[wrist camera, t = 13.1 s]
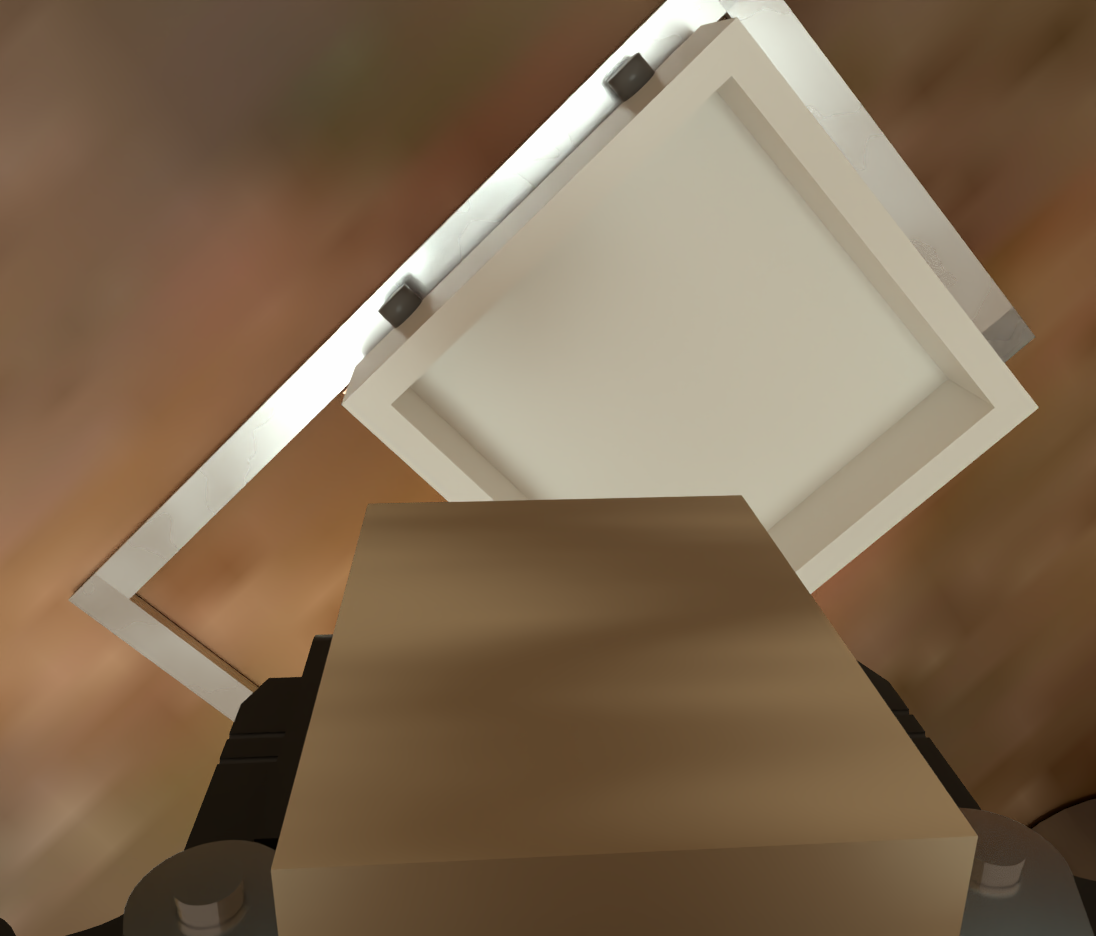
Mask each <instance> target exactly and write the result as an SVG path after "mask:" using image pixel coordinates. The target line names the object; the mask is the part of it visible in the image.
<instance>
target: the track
mask: <svg viewBox="0 0 1096 936" xmlns="http://www.w3.org/2000/svg"><path fill="white" fill-rule="evenodd" d="M723 15H725V16H726V17H727V19H731V18H735V17H737V18H738V19H739V20H740V22H741V23H742V24H743V25H744V27H745V28H746V29H747V31H748V32H749V33H750V34H751V36H752V37H753V38H754V40H755V41H756V42H757V44H758V45H759V46H760V47H761V49H762V50H763V51H764V53H765V54H766V55H767V56H768V58H769V59H770V60H771V62H772V63H773V64H774V66H775V67H776V68H777V69H778V71H779V72H780V73H781V75H782V76H783V77H784V78H785V80H786V81H787V82H788V84H789V85H790V86H791V88H792V89H793V90H794V91H795V93H796V94H797V95H798V97H799V98H800V99H801V100H802V102H803V103H804V104H805V106H806V107H807V108H808V110H809V111H810V112H811V113H812V115H813V116H814V117H815V119H816V120H817V121H818V122H819V124H820V125H821V126H822V128H823V129H824V130H825V132H826V133H827V134H828V135H829V137H830V138H831V139H832V141H833V142H834V143H835V144H836V146H837V147H838V148H839V150H840V151H841V152H842V154H843V155H844V156H845V157H846V159H847V160H848V161H849V163H850V164H851V165H852V166H853V168H854V169H855V170H856V172H857V173H858V174H859V176H860V177H861V178H862V179H863V181H864V182H865V183H866V185H867V186H868V187H869V188H870V190H871V191H872V192H873V194H874V195H875V196H876V198H877V199H878V200H879V201H880V203H881V204H882V205H883V207H884V208H885V209H886V211H887V212H888V213H889V214H890V216H891V217H892V218H893V220H894V221H895V222H896V223H897V225H898V226H899V227H900V229H901V230H902V231H903V233H904V234H905V235H906V236H907V238H908V239H909V240H910V242H911V243H912V244H913V245H914V247H915V248H916V249H917V251H918V252H919V253H920V255H921V256H922V257H923V258H924V260H925V261H926V262H927V264H928V265H929V266H930V267H931V269H932V270H933V271H934V273H935V274H936V275H937V277H938V278H939V279H940V280H941V282H942V283H943V284H944V286H945V287H946V288H947V289H948V291H949V292H950V293H951V295H952V296H953V297H954V299H955V300H956V301H957V302H958V304H959V305H960V306H961V308H962V309H963V310H964V311H965V313H966V314H967V315H968V317H969V318H970V319H971V321H972V322H973V323H974V324H975V326H976V327H977V328H978V330H979V331H980V332H981V333H982V335H983V336H984V337H985V339H986V340H987V341H988V343H989V344H990V345H991V346H992V348H993V349H994V350H995V352H996V353H997V354H998V355H999V357H1000V358H1001V359H1002V361H1003V362H1004V363H1005V362H1006V361H1007V360H1008V359H1010V358H1011V357H1012V356H1013V355H1014V354H1016V353H1017V352H1018V351H1019V350H1020V349H1022V348H1023V347H1024V346H1025V345H1026V344H1028V343H1029V342H1030V341H1031V340H1032V339H1034V338H1035V336H1034V334H1033V333H1032V332H1031V330H1030V329H1029V328H1028V326H1027V325H1026V324H1025V322H1024V321H1023V320H1022V318H1021V317H1020V316H1019V314H1018V313H1017V312H1016V310H1015V309H1014V308H1013V306H1012V305H1011V304H1010V302H1009V301H1008V300H1007V298H1006V297H1005V296H1004V294H1003V293H1002V292H1001V290H1000V289H999V288H998V286H997V285H996V283H995V282H994V281H993V279H992V278H991V277H990V275H989V274H988V273H987V271H986V270H985V269H984V267H983V266H982V265H981V263H980V262H979V261H978V259H977V258H976V257H975V255H974V254H973V253H972V251H971V250H970V249H969V247H968V246H967V245H966V243H965V242H964V241H963V239H962V238H961V237H960V235H959V234H958V233H957V231H956V230H955V229H954V227H953V226H952V225H951V223H950V222H949V221H948V219H947V218H946V217H945V215H944V214H943V213H942V211H941V210H940V209H939V207H938V206H937V205H936V203H935V202H934V201H933V199H932V198H931V197H930V195H929V194H928V193H927V191H926V190H925V189H924V187H923V186H922V185H921V183H920V182H919V181H918V179H917V178H916V177H915V175H914V174H913V173H912V171H911V170H910V169H909V167H908V166H907V165H906V163H905V162H904V161H903V159H902V158H901V157H900V155H899V154H898V153H897V151H896V150H895V149H894V147H893V146H892V145H891V143H890V142H889V141H888V139H887V138H886V137H885V135H884V134H883V133H882V131H881V130H880V129H879V127H878V126H877V125H876V123H875V122H874V121H873V119H872V118H871V117H870V115H869V114H868V113H867V111H866V110H865V109H864V107H863V106H862V105H861V103H860V102H859V101H858V99H857V98H856V97H855V95H854V94H853V93H852V91H851V90H850V89H849V87H848V86H847V84H846V83H845V82H844V80H843V79H842V78H841V76H840V75H839V74H838V72H837V71H836V70H835V68H834V67H833V66H832V64H831V63H830V62H829V60H828V59H827V58H826V56H825V55H824V54H823V52H822V51H821V50H820V48H819V47H818V46H817V44H816V43H815V42H814V40H813V39H812V38H811V36H810V35H809V34H808V32H807V31H806V30H805V28H804V27H803V26H802V24H801V23H800V22H799V20H798V19H797V18H796V16H795V15H794V14H793V12H792V11H791V10H790V8H789V7H788V6H787V4H786V3H785V2H784V0H665V1H664V2H663V3H662V4H661V5H660V6H659V7H658V8H657V9H656V10H655V11H654V12H653V13H652V14H651V15H650V16H649V17H648V18H647V19H646V20H645V21H644V22H643V23H642V24H641V25H640V26H639V27H638V28H637V29H636V30H635V31H634V32H633V33H632V34H631V35H630V36H629V37H628V38H627V39H626V40H625V41H624V42H623V43H622V44H621V45H620V46H619V47H618V48H617V49H616V50H615V51H614V52H613V53H612V54H611V55H610V56H609V57H608V58H607V59H606V60H605V61H604V62H603V63H602V64H601V65H600V66H599V67H598V68H597V69H596V70H595V71H594V72H593V73H592V74H591V75H590V76H589V77H588V78H587V79H586V80H585V81H584V82H583V83H582V84H581V85H580V86H579V87H578V88H577V89H576V90H575V91H574V92H573V93H572V94H571V95H570V96H569V97H568V98H567V99H566V100H565V101H564V102H563V103H562V104H561V105H560V106H559V107H558V108H557V109H556V110H555V111H554V112H553V113H552V114H551V115H550V116H549V117H548V118H547V119H546V120H545V121H544V122H543V123H542V124H541V125H540V126H539V127H538V128H537V129H536V130H535V131H534V132H533V133H532V134H531V135H530V136H529V137H528V138H527V139H526V140H525V141H524V142H523V143H522V144H521V145H520V146H519V147H518V148H517V149H516V150H515V151H514V152H513V153H512V154H511V155H510V156H509V157H508V158H507V159H506V160H505V161H504V162H503V163H502V164H501V165H500V166H499V167H498V168H497V169H496V170H495V171H494V172H493V173H492V174H491V175H490V176H489V177H488V178H487V179H486V180H485V181H484V182H483V183H482V185H481V186H480V187H479V188H478V189H477V190H476V191H475V192H474V193H473V194H472V195H471V196H470V197H469V198H468V199H467V200H466V201H465V202H464V203H463V204H462V205H461V206H460V207H459V208H458V209H457V210H456V211H455V212H454V213H453V214H452V215H451V216H450V217H449V218H448V219H447V220H446V221H445V222H444V223H443V224H442V225H441V226H440V227H439V228H438V229H437V230H436V231H435V232H434V233H433V234H432V235H431V236H430V237H429V238H428V239H427V240H426V241H425V242H424V243H423V244H422V245H421V246H420V247H419V248H418V249H417V250H416V251H415V252H414V253H413V254H412V255H411V256H410V257H409V258H408V259H407V260H406V261H405V262H404V263H403V264H402V265H401V266H400V267H399V268H398V269H397V270H396V271H395V272H394V273H393V274H392V275H391V276H390V277H389V278H388V279H387V280H386V281H385V282H384V283H383V284H382V285H381V286H380V287H379V288H378V289H377V290H376V291H375V292H374V293H373V294H372V295H371V296H370V297H369V298H368V299H367V300H366V301H365V302H364V303H363V304H362V305H361V306H360V307H359V308H358V309H357V310H356V311H355V312H354V313H353V314H352V315H351V316H350V317H349V318H348V319H347V320H346V321H345V322H344V323H343V324H342V325H341V326H340V327H339V328H338V329H337V330H336V331H335V332H334V333H333V334H332V335H331V336H330V337H329V338H328V339H327V340H326V341H325V342H324V343H323V344H322V345H321V346H320V347H319V348H318V349H317V350H316V351H315V352H314V353H313V354H312V355H311V356H310V357H309V358H308V359H307V360H306V361H305V362H304V363H303V364H302V365H301V366H300V367H299V368H298V369H297V370H296V371H295V372H294V373H293V374H292V375H291V376H290V377H289V378H288V379H287V380H286V381H285V382H284V383H283V384H282V385H281V386H280V387H279V388H278V389H277V390H276V391H275V392H274V393H273V394H272V395H271V396H270V397H269V398H268V399H267V400H266V401H265V402H264V403H263V404H262V405H261V406H260V407H259V408H258V409H257V410H256V411H255V412H254V413H253V414H252V415H251V416H250V417H249V418H248V419H247V420H246V421H245V422H244V423H243V424H242V425H241V426H240V427H239V428H238V429H237V430H236V431H235V432H234V433H233V434H232V435H231V436H230V437H229V438H228V439H227V440H226V441H225V442H224V443H223V444H222V445H221V446H220V447H219V448H218V449H217V450H216V451H215V452H214V453H213V454H212V455H211V456H210V457H209V458H208V459H207V460H206V461H205V462H204V463H203V464H202V465H201V466H200V467H199V468H198V469H197V470H196V471H195V472H194V473H193V474H192V475H191V476H190V477H189V478H188V479H187V480H186V481H185V482H184V483H183V484H182V485H181V486H180V487H179V488H178V489H177V490H176V491H175V492H174V493H173V494H172V495H171V496H170V497H169V498H168V499H167V500H166V501H165V502H164V503H163V504H162V505H161V506H160V507H159V508H158V509H157V510H156V511H155V512H154V513H153V514H152V515H151V516H150V517H149V518H148V519H147V520H146V521H145V522H144V523H143V524H142V525H141V526H140V527H139V528H138V529H137V530H136V531H135V532H134V533H133V534H132V535H131V536H130V537H129V538H128V539H127V540H126V541H125V542H124V543H123V544H122V545H121V546H120V547H119V548H118V549H117V550H116V551H115V552H114V553H113V554H112V555H111V556H110V557H109V558H108V559H107V560H106V561H105V562H104V563H103V564H102V565H101V566H100V567H99V568H98V569H97V570H96V571H95V572H94V573H93V574H92V575H91V576H90V577H89V578H88V579H87V580H86V581H85V582H84V583H83V584H82V585H81V586H80V587H79V588H78V589H77V590H76V591H75V592H74V593H73V595H72V596H71V597H70V599H69V601H70V602H72V603H73V604H74V605H76V606H77V607H78V608H80V609H81V610H82V611H84V612H85V613H87V614H88V615H89V616H91V617H92V618H93V619H95V620H96V621H97V622H99V623H100V624H102V625H103V626H104V627H106V628H107V629H108V630H110V631H111V632H112V633H114V634H115V635H117V636H118V637H119V638H121V639H122V640H123V641H125V642H126V643H127V644H129V645H130V646H131V647H133V648H134V649H136V650H137V651H138V652H140V653H141V654H142V655H144V656H145V657H146V658H148V659H149V660H151V661H152V662H153V663H155V664H156V665H157V666H159V667H160V668H161V669H163V670H164V671H166V672H167V673H168V674H170V675H171V676H172V677H174V678H175V679H176V680H178V681H179V682H180V683H182V684H183V685H185V686H186V687H187V688H189V689H190V690H191V691H193V692H194V693H195V694H197V695H198V696H200V697H201V698H202V699H204V700H205V701H206V702H208V703H209V704H210V705H212V706H213V707H215V708H216V709H217V710H219V711H220V712H221V713H223V714H224V715H225V716H227V717H228V718H229V719H231V720H232V721H234V720H235V718H236V715H237V713H238V710H239V708H240V705H241V703H243V702H244V701H245V700H246V699H247V698H248V697H249V696H250V695H251V694H252V693H253V692H254V691H256V690H257V689H258V688H259V687H257V686H256V685H255V684H253V683H252V682H251V681H249V680H248V679H247V678H245V677H244V676H243V675H241V674H240V673H239V672H237V671H236V670H235V669H233V668H232V667H231V666H229V665H228V664H227V663H226V662H224V661H223V660H222V659H220V658H219V657H218V656H216V655H215V654H214V653H212V652H211V651H210V650H208V649H207V648H206V647H204V646H203V645H202V644H200V643H199V642H198V641H196V640H195V639H194V638H192V637H191V636H190V635H189V634H187V633H186V632H185V631H183V630H182V629H181V628H179V627H178V626H177V625H175V624H174V623H173V622H171V621H170V620H169V619H167V618H166V617H165V616H163V615H162V614H161V613H159V612H158V611H157V610H155V609H154V608H153V607H152V606H150V605H149V604H148V603H146V602H145V601H144V600H142V599H141V598H140V597H138V596H137V595H136V594H135V593H136V592H137V591H138V590H139V589H140V588H141V587H142V586H143V585H144V584H145V583H146V582H147V581H148V580H149V579H150V578H151V577H152V576H153V575H154V574H155V573H156V572H157V571H158V570H159V569H160V568H161V567H162V566H163V565H165V564H166V563H167V562H168V561H169V560H170V559H171V558H172V557H173V556H174V555H175V554H176V553H177V552H178V551H179V550H180V549H181V548H182V547H183V546H184V545H185V544H186V543H187V542H188V541H189V540H190V539H191V538H192V537H193V536H194V535H195V534H196V533H197V532H198V531H199V530H200V529H201V528H202V527H203V526H204V525H205V524H206V523H207V522H208V521H209V520H210V519H211V518H212V517H213V516H214V515H215V514H216V513H217V512H218V511H219V510H220V509H221V508H222V507H223V506H225V505H226V504H227V503H228V502H229V501H230V500H231V499H232V498H233V497H234V496H235V495H236V494H237V493H238V492H239V491H240V490H241V489H242V488H243V487H244V486H245V485H246V484H247V483H248V482H249V481H250V480H251V479H252V478H253V477H254V476H255V475H256V474H257V473H258V472H259V471H260V470H261V469H262V468H263V467H264V466H265V465H266V464H267V463H268V462H269V461H270V460H271V459H272V458H273V457H274V456H275V455H276V454H277V453H278V452H279V451H280V450H281V449H282V448H283V447H285V446H286V445H287V444H288V443H289V442H290V441H291V440H292V439H293V438H294V437H295V436H296V435H297V434H298V433H299V432H300V431H301V430H302V429H303V428H304V427H305V426H306V425H307V424H308V423H309V422H310V421H311V420H312V419H313V418H314V417H315V416H316V415H317V414H318V413H319V412H320V411H321V410H322V409H323V408H324V407H325V406H326V405H327V404H328V403H329V402H330V401H331V400H332V399H333V398H334V397H335V396H336V395H337V394H338V393H339V392H340V391H341V390H342V389H344V388H345V387H346V386H347V385H348V384H349V382H350V379H351V377H352V374H353V371H354V368H355V366H356V365H357V364H358V363H359V362H360V361H361V360H362V359H363V358H364V357H365V356H366V355H367V354H368V353H369V352H370V351H371V350H372V349H373V348H374V347H375V346H376V345H377V344H378V343H379V342H380V341H381V340H382V339H383V338H384V337H385V336H386V335H388V334H389V333H390V332H391V331H392V330H393V329H394V327H393V326H392V325H391V324H390V323H389V322H388V321H387V320H386V319H385V318H384V317H383V316H382V315H381V314H380V313H379V312H378V310H379V308H380V307H381V306H382V305H383V303H384V302H385V301H386V300H387V299H388V298H389V297H390V296H391V295H392V294H393V293H394V292H395V291H396V290H397V289H398V288H399V287H400V286H402V285H403V284H406V285H407V286H408V287H409V288H410V289H411V290H412V291H413V292H414V293H415V294H416V295H417V296H418V297H419V298H420V299H421V300H423V299H424V298H425V297H426V296H427V295H428V294H429V293H430V292H431V291H432V290H433V289H434V288H435V287H436V286H437V285H438V284H439V283H440V282H441V281H442V280H443V279H444V278H445V277H446V276H447V275H448V274H449V273H450V272H451V271H452V270H453V269H454V268H455V267H456V266H457V265H458V264H459V263H461V262H462V261H463V260H464V259H465V258H466V257H467V256H468V255H469V254H470V253H471V252H472V251H473V250H474V249H475V248H476V247H477V246H478V245H479V244H480V243H481V242H482V241H483V240H484V239H485V238H486V237H487V236H488V235H489V234H490V233H491V232H492V231H493V230H494V229H495V228H496V227H497V226H498V225H499V224H500V223H501V222H502V221H503V220H504V219H505V218H506V217H507V216H508V215H509V214H510V213H511V212H512V211H513V210H514V209H515V208H516V207H517V206H518V205H519V204H520V203H521V202H522V201H523V200H524V199H525V198H526V197H527V196H528V195H529V194H530V193H531V192H533V191H534V190H535V189H536V188H537V187H538V186H539V185H540V184H541V183H542V182H543V181H544V180H545V179H546V178H547V177H548V176H549V175H550V174H551V173H552V172H553V171H554V170H555V169H556V168H557V167H558V166H559V165H560V164H561V163H562V162H563V161H564V160H565V159H566V158H567V157H568V156H569V155H570V154H571V153H572V152H573V151H574V150H575V149H576V148H577V147H578V146H579V145H580V144H581V143H582V142H583V141H584V140H585V139H586V138H587V137H588V136H589V135H590V134H591V133H592V132H593V131H594V130H595V129H596V128H597V127H598V126H599V125H600V124H601V123H602V122H603V121H604V120H606V119H607V118H608V117H609V116H610V115H611V114H612V113H613V112H614V111H615V110H616V109H617V108H618V107H619V106H620V105H621V104H622V103H623V100H622V99H621V98H620V97H619V96H618V95H617V93H616V92H615V91H614V90H613V89H612V87H611V86H610V85H609V84H608V83H607V81H608V80H609V79H610V77H611V76H612V75H613V74H614V73H615V72H616V71H617V70H618V69H619V68H620V67H621V66H622V65H623V64H624V63H625V62H626V61H627V60H628V59H629V58H630V57H632V56H633V55H634V54H635V53H637V52H639V53H640V54H641V55H642V57H643V58H644V59H645V60H646V62H647V63H648V64H649V65H650V66H651V68H652V69H653V70H654V71H655V70H656V69H657V68H658V67H659V66H660V65H661V64H662V63H663V62H664V61H665V60H666V59H667V58H668V57H669V56H670V55H671V54H672V53H673V52H674V51H675V50H676V49H677V48H679V47H680V46H681V45H682V44H683V43H684V42H685V41H686V40H687V39H688V38H689V37H690V36H691V35H692V34H693V33H694V32H695V31H696V30H697V29H698V28H699V27H700V26H701V25H705V24H709V23H713V22H717V21H718V20H719V19H720V18H721V17H722V16H723ZM347 388H348V387H347ZM347 388H346V389H345V390H344V391H343V394H344V395H345V393H346V390H347Z"/></svg>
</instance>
